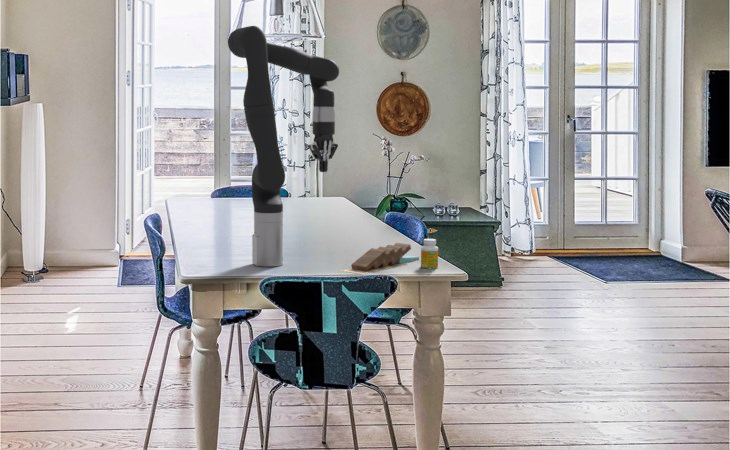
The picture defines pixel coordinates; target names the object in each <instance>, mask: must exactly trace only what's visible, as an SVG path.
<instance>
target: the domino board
mask: <svg viewBox="0 0 730 450" xmlns="http://www.w3.org/2000/svg"><path fill="white" fill-rule="evenodd" d="M404 265H406V263H395V264H393V265H388V264H387V265H386V266H385V267H384V268H383V267H378V268H376V269H369V270H368V271H367V272H366V271H360V270H354V269H352V267H349V268H344V269H340V270H338V271H339V272H345V273H349V274H355V275H366V274H370V273H373V272H378V271H384V270H387V269H392V268H396V267H401V266H404Z"/></svg>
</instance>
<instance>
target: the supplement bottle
mask: <svg viewBox="0 0 730 450" xmlns="http://www.w3.org/2000/svg"><path fill="white" fill-rule="evenodd" d="M420 251H421V253H420V268H421V269H424V270H435V269H438V267H439V247H438V246H437V239H435V238H424V239H423V245H422V246H421V248H420Z"/></svg>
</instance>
